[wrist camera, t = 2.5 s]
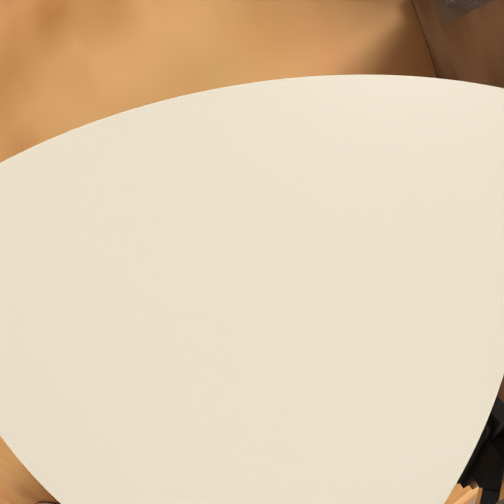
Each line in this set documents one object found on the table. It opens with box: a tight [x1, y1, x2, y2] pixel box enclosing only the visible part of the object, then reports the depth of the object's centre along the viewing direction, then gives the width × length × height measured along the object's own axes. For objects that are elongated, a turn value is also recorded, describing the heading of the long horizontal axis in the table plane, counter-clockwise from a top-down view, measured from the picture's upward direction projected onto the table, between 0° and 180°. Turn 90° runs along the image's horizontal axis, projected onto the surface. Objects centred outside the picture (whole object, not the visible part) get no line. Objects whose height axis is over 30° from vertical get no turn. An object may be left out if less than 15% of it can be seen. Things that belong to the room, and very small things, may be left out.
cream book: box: [0, 75, 504, 504], centre depth 8 cm, size 16×4×11 cm, turn 11°
